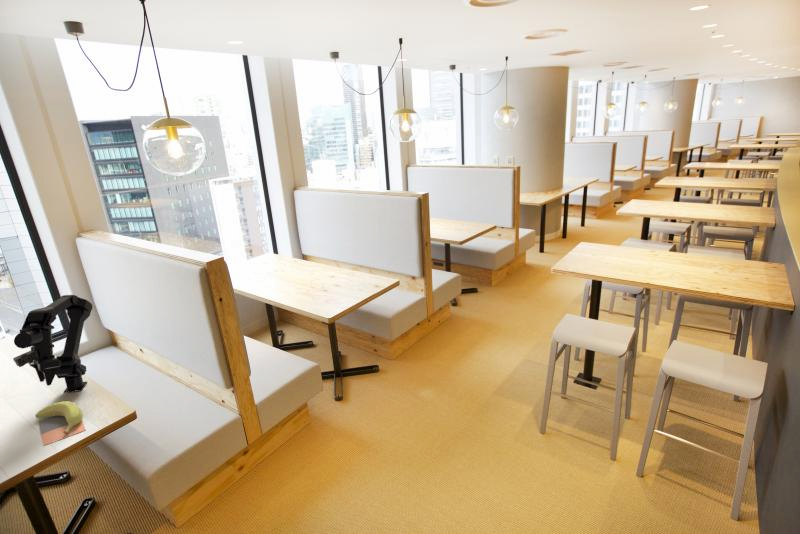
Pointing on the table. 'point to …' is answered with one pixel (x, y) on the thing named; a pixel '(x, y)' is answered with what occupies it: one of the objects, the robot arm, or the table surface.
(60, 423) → the mat
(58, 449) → the table surface
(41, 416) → the banana
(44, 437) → the pad
